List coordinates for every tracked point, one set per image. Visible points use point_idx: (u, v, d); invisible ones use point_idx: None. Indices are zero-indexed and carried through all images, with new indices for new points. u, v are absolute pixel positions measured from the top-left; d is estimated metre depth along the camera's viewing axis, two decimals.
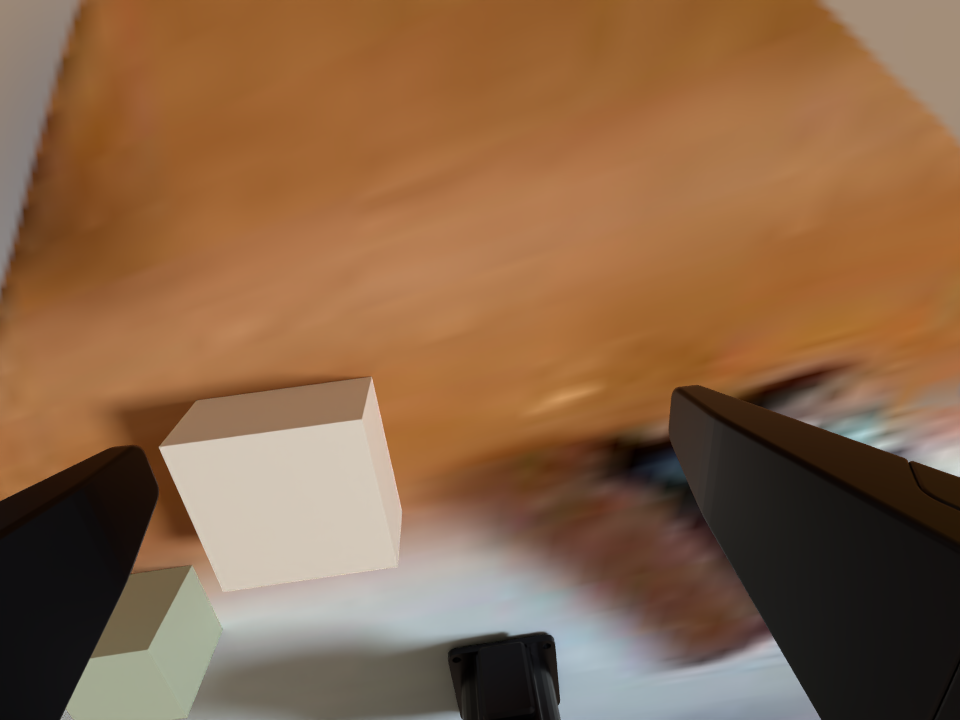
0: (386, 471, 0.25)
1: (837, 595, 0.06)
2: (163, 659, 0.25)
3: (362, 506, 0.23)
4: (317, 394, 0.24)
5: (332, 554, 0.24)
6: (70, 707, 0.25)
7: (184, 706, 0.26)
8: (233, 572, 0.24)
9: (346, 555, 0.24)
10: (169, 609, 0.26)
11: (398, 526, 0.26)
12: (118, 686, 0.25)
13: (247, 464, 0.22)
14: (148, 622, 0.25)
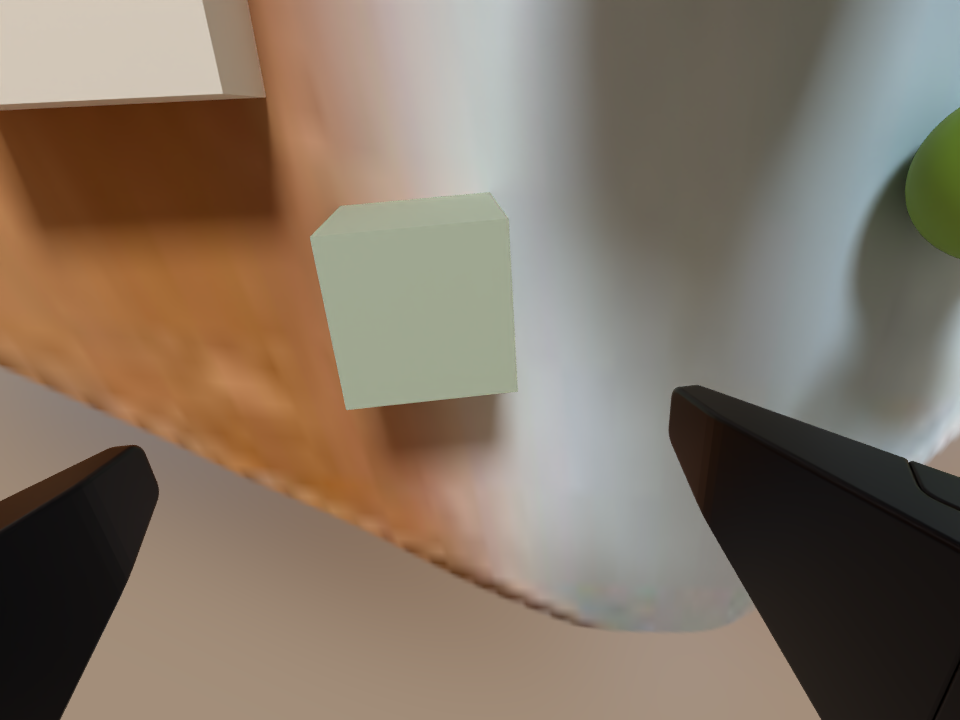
0: None
1: (837, 595, 0.06)
2: (366, 228, 0.14)
3: None
4: None
5: None
6: (448, 391, 0.16)
7: (484, 219, 0.14)
8: (167, 58, 0.13)
9: None
10: (326, 221, 0.15)
11: None
12: (404, 310, 0.14)
13: None
14: None
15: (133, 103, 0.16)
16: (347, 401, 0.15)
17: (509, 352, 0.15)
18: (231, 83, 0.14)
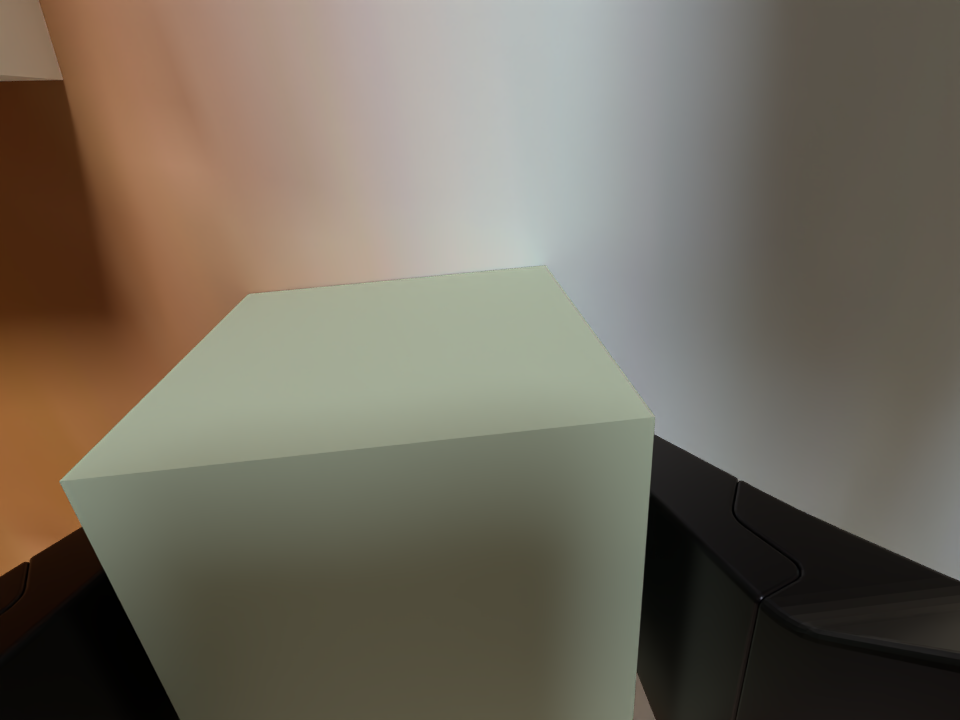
0: None
1: (664, 616, 0.06)
2: (242, 432, 0.05)
3: None
4: None
5: None
6: None
7: (582, 413, 0.05)
8: None
9: None
10: (176, 368, 0.06)
11: None
12: (357, 630, 0.05)
13: None
14: None
15: None
16: None
17: (619, 694, 0.06)
18: None
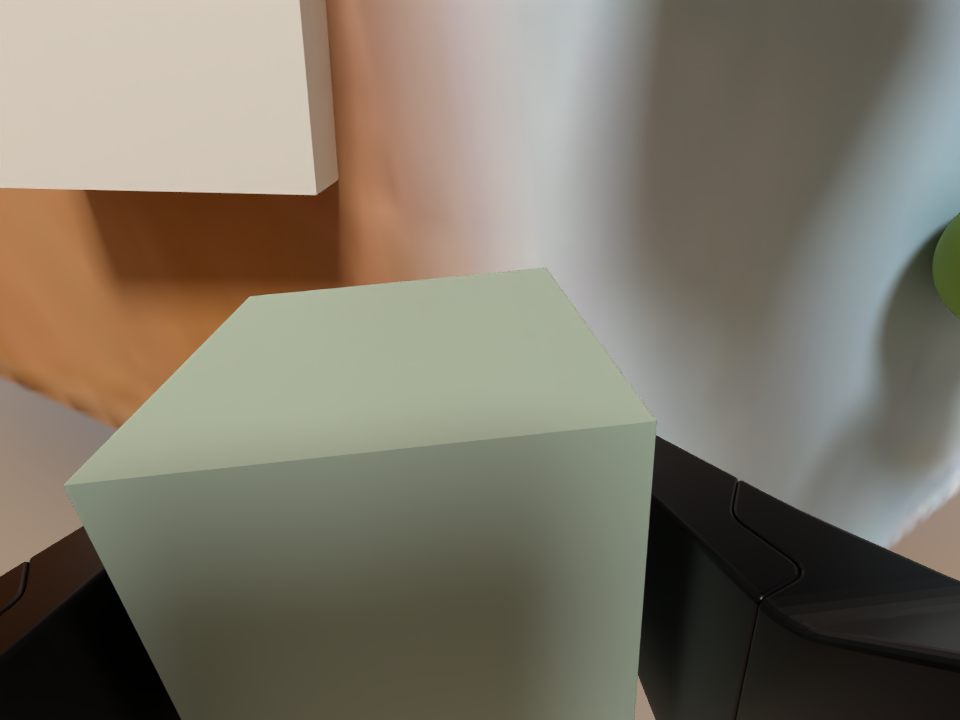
0: None
1: (664, 617, 0.06)
2: (247, 435, 0.05)
3: None
4: None
5: None
6: None
7: (584, 417, 0.05)
8: (270, 162, 0.14)
9: None
10: (178, 370, 0.06)
11: None
12: (358, 634, 0.05)
13: (8, 48, 0.12)
14: None
15: None
16: None
17: (621, 697, 0.06)
18: (321, 181, 0.15)
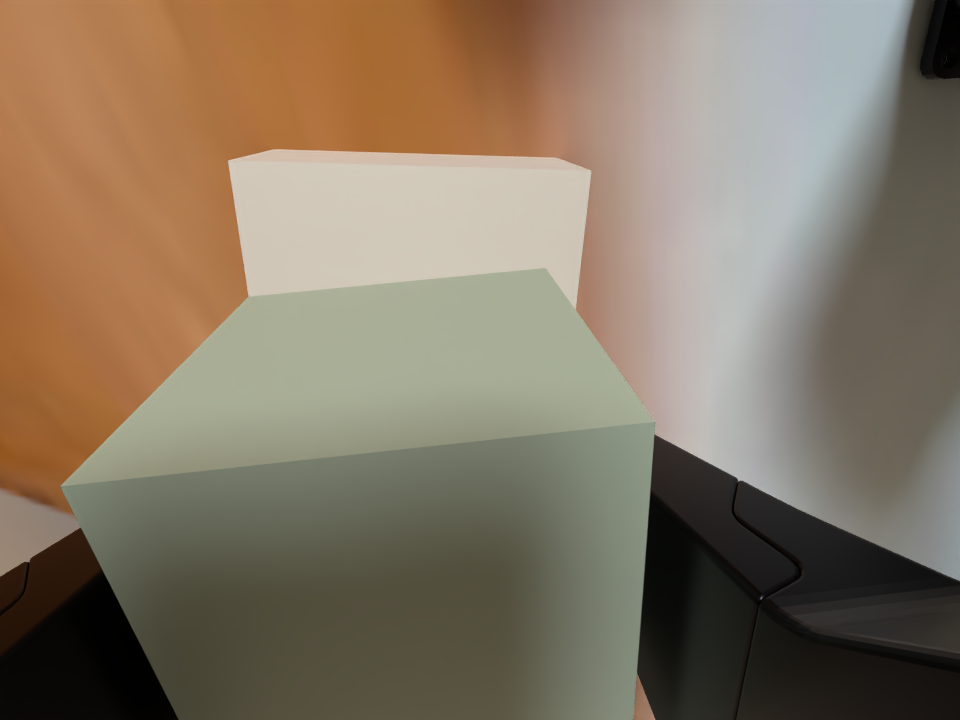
0: (427, 158, 0.14)
1: (664, 616, 0.06)
2: (244, 436, 0.05)
3: (428, 205, 0.12)
4: None
5: None
6: None
7: (583, 418, 0.05)
8: None
9: (535, 260, 0.13)
10: (176, 371, 0.06)
11: (550, 162, 0.14)
12: (357, 635, 0.05)
13: None
14: None
15: None
16: None
17: (620, 698, 0.06)
18: None
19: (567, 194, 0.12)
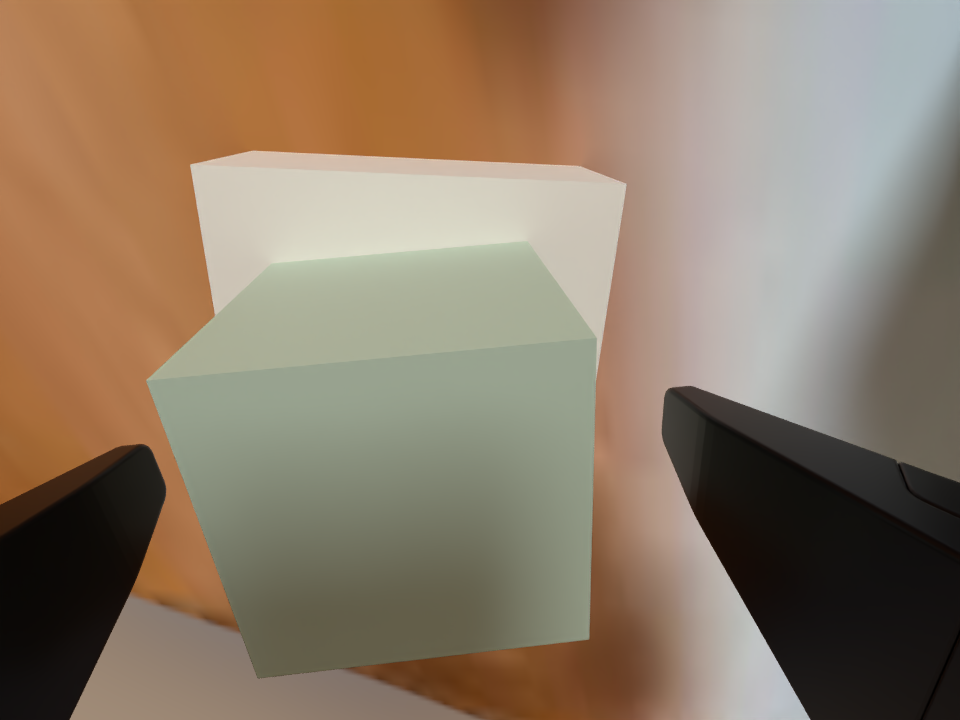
0: (431, 164, 0.12)
1: (826, 597, 0.06)
2: (281, 351, 0.06)
3: (432, 222, 0.10)
4: None
5: None
6: (456, 644, 0.08)
7: (543, 336, 0.06)
8: None
9: None
10: (220, 313, 0.08)
11: (573, 171, 0.12)
12: (367, 514, 0.07)
13: None
14: None
15: None
16: (258, 666, 0.08)
17: (578, 579, 0.08)
18: None
19: (597, 211, 0.10)
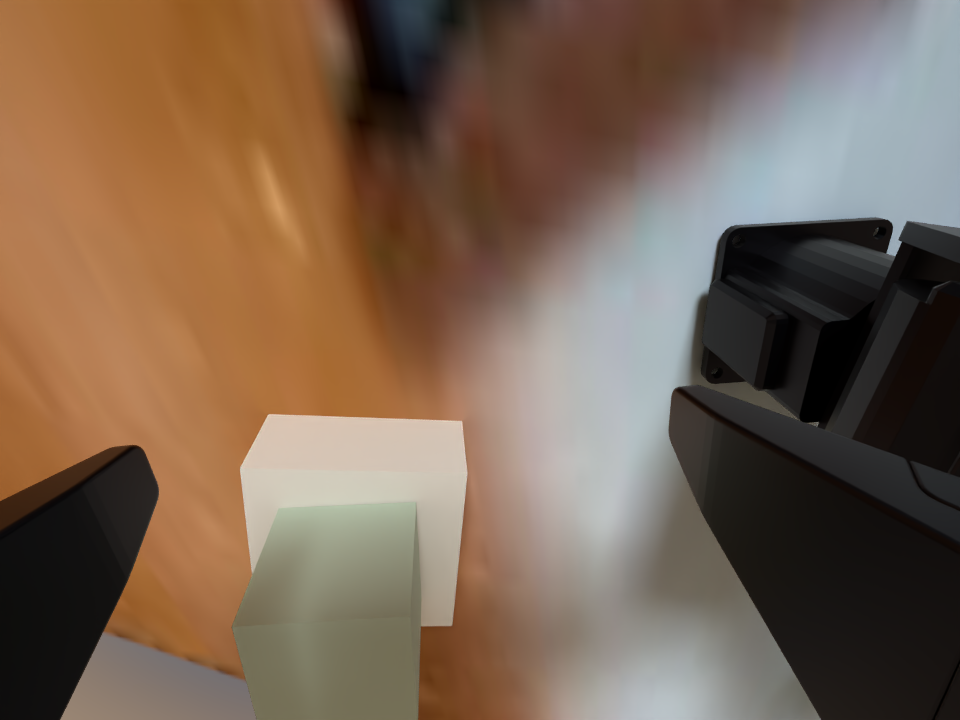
0: (370, 436, 0.21)
1: (837, 595, 0.06)
2: (284, 609, 0.16)
3: (364, 490, 0.20)
4: None
5: (428, 530, 0.21)
6: None
7: (390, 612, 0.16)
8: (428, 613, 0.23)
9: (433, 517, 0.20)
10: (255, 568, 0.17)
11: (450, 441, 0.22)
12: (315, 673, 0.16)
13: None
14: None
15: None
16: None
17: (410, 699, 0.17)
18: None
19: (452, 484, 0.20)
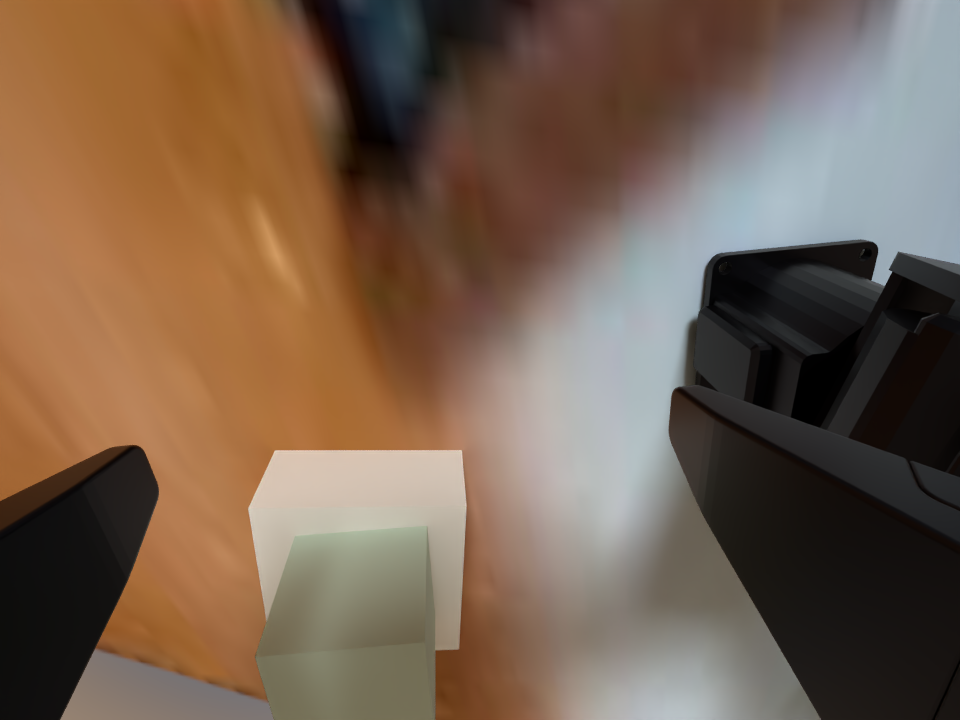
0: (372, 470, 0.22)
1: (837, 595, 0.06)
2: (304, 638, 0.16)
3: (368, 524, 0.20)
4: None
5: (431, 560, 0.21)
6: None
7: (405, 638, 0.16)
8: None
9: (435, 548, 0.21)
10: (275, 597, 0.18)
11: (450, 472, 0.22)
12: (336, 697, 0.17)
13: None
14: None
15: None
16: None
17: (427, 719, 0.18)
18: None
19: (452, 517, 0.21)
